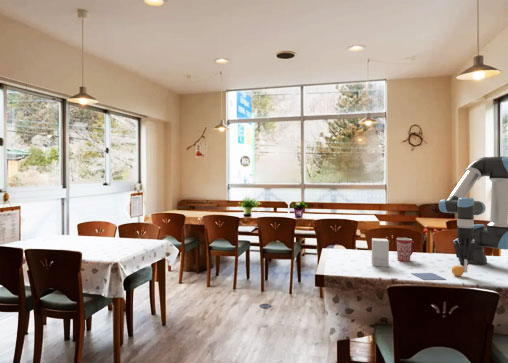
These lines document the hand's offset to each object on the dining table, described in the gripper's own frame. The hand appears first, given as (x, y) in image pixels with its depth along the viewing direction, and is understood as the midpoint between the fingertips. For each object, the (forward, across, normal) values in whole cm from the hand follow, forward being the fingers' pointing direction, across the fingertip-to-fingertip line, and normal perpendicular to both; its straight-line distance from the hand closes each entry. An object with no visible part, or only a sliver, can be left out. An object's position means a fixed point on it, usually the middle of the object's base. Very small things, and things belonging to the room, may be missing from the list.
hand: (464, 271), depth 190 cm
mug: (+2, +12, -36) cm, 38 cm away
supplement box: (+3, +34, -27) cm, 43 cm away
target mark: (+2, +20, -1) cm, 20 cm away
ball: (0, +4, 0) cm, 4 cm away
